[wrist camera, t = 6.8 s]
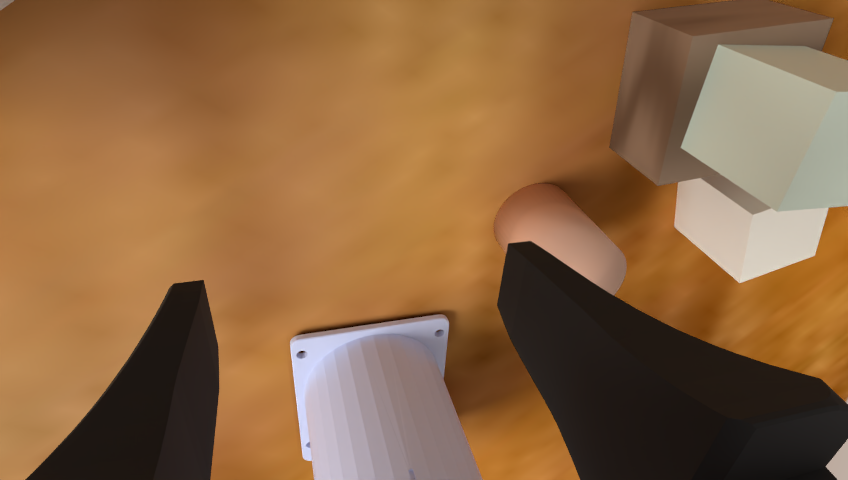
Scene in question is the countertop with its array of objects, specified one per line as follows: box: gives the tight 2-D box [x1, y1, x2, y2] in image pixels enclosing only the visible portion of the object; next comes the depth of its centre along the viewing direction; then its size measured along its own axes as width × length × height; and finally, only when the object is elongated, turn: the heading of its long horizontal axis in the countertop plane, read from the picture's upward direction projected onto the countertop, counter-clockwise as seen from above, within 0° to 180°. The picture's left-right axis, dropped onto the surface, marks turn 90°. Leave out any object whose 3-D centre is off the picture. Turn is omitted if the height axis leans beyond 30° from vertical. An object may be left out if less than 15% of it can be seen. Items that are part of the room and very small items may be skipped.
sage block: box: [681, 45, 848, 212], centre depth 20 cm, size 4×4×5 cm
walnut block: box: [609, 0, 834, 186], centre depth 23 cm, size 6×6×4 cm
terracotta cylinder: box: [494, 183, 627, 295], centre depth 25 cm, size 4×4×5 cm
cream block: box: [674, 174, 828, 283], centre depth 27 cm, size 4×4×5 cm
